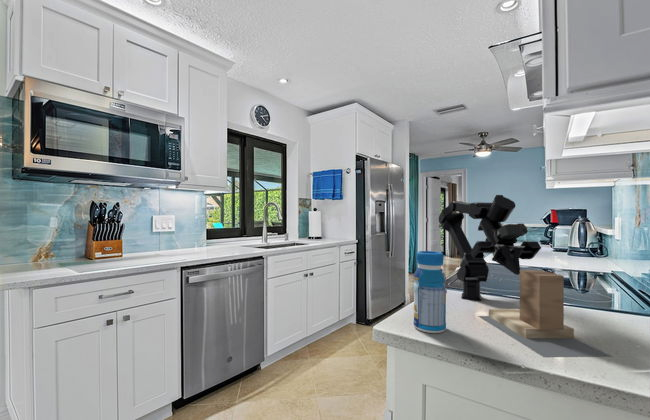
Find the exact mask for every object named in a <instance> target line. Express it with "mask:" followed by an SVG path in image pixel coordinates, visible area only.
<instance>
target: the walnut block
mask: <svg viewBox="0 0 650 420" xmlns="http://www.w3.org/2000/svg"><path fill="white" fill-rule="evenodd" d="M564 280H565V277H564V275H562V274H557V273H553V272H550V271H545V270H542V269H541V270H539V269H538V270H535V269H534V270H533V269H531V270H526V269H525V270H524V269H522V270H521V269H520V274H519V309H520V320H521V321H523V322H525V323H527V324H529V325H531V326H533V327H535V328H537V329H539V330H564V325H565V324H564V322H565V321H564V319H565V318H564V315H565V312H564V311H565V310H564V308H565V306H564V302H565V301H564V300H565V299H564V298H565V297H564V295H565V293H564V290H565V289H564V286H565V282H564Z"/></svg>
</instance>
